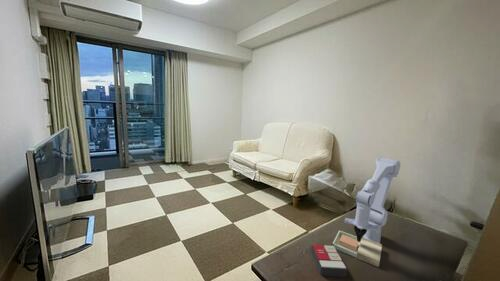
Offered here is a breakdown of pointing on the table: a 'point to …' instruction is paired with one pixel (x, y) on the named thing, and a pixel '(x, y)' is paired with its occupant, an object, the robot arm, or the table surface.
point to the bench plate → (369, 251)
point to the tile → (349, 243)
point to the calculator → (328, 261)
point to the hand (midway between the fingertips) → (358, 240)
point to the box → (341, 248)
